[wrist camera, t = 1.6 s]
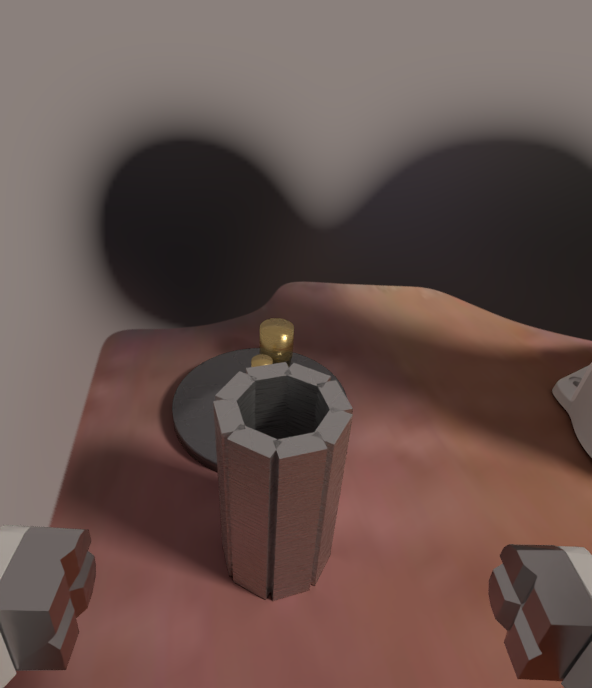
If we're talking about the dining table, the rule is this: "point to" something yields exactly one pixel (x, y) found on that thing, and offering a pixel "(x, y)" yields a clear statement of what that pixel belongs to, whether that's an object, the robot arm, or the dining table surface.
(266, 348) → the grey pot lid
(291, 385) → the octagonal pipe segment
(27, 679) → the dining table surface
